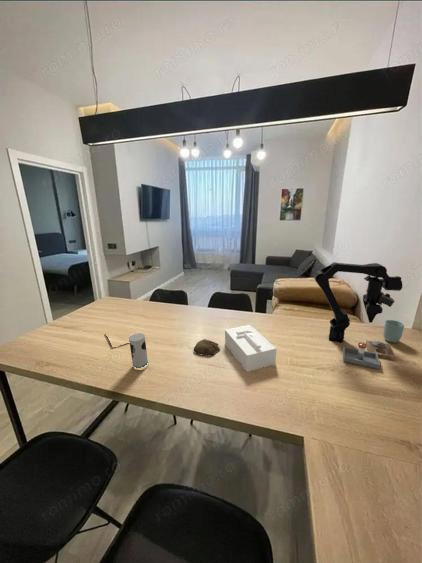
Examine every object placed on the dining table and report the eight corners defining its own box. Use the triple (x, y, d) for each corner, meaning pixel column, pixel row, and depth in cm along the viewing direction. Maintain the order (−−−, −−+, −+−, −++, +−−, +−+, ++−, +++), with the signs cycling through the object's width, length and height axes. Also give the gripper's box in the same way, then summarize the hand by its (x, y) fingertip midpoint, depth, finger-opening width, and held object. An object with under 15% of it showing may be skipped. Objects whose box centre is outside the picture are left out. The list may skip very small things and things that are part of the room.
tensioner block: (368, 355, 114) (369, 350, 113) (365, 342, 124) (366, 338, 124) (394, 360, 110) (395, 355, 109) (389, 346, 120) (390, 342, 119)
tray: (343, 362, 109) (344, 357, 109) (342, 351, 118) (343, 346, 117) (379, 369, 104) (380, 364, 103) (375, 357, 112) (376, 353, 111)
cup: (403, 345, 121) (407, 327, 118) (386, 343, 123) (389, 326, 120) (395, 337, 128) (399, 320, 126) (379, 336, 130) (382, 319, 127)
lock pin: (356, 360, 110) (358, 345, 108) (355, 356, 112) (357, 342, 110) (364, 361, 108) (367, 346, 106) (363, 357, 111) (366, 343, 109)
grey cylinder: (149, 361, 115) (146, 333, 110) (146, 370, 108) (142, 340, 104) (135, 361, 115) (131, 333, 111) (131, 370, 108) (126, 341, 104)
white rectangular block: (249, 338, 132) (249, 320, 129) (275, 365, 110) (276, 343, 106) (225, 344, 128) (224, 325, 125) (247, 372, 105) (247, 350, 102)
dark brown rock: (190, 352, 121) (189, 344, 120) (202, 341, 132) (202, 333, 130) (212, 359, 115) (212, 350, 114) (223, 346, 126) (223, 338, 124)
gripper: (399, 297, 106) (392, 329, 110) (390, 285, 122) (385, 314, 126) (369, 294, 111) (364, 325, 115) (364, 283, 127) (360, 310, 131)
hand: (369, 318), depth 122 cm, fingers open, 9 cm apart
